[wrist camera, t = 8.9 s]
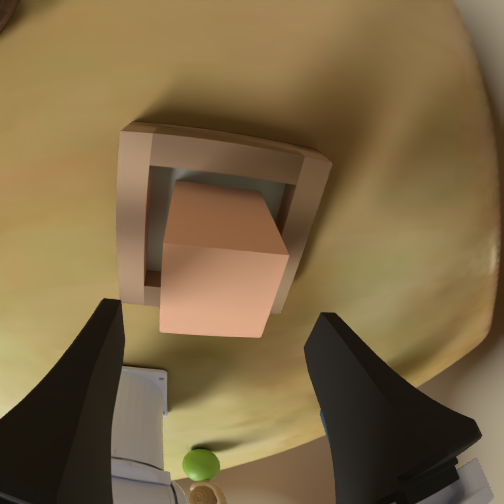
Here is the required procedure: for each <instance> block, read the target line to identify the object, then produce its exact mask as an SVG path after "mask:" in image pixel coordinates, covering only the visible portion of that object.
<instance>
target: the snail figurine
mask: <svg viewBox="0 0 504 504" xmlns="http://www.w3.org/2000/svg"><path fill="white" fill-rule="evenodd" d="M182 466H183V470H184V472H185V474H186V475H187V476H188V477H189V478H190V479H192V480H194V481H197V482H195V483H193V484H192V485H191V487H190V490H192V492H191V493H190V497H189V500H190V504H217V501H218V503H219V504H227V502H226V498H225V496H224V493H223V491H222V489H221V488H220V486H219V485H218V484H216V483H215V482H212V481H210V480H212V479H214V478H215V477H216V476H217V474H218V473H219V470H220V462H219V460H218V458H217V457H216V455H215V454H213V453H212V452H210V451H208V450H205V449H195V450H192V451H190V452H189V453H187V454H186V456H185V457H184V459H183V463H182Z"/></svg>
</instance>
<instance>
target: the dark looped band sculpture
mask: <svg viewBox="0 0 504 504" xmlns="http://www.w3.org/2000/svg"><path fill="white" fill-rule="evenodd" d="M18 2H19V0H0V32H1V30H2V28H3V27H4V26H5V24H6V22H7V21H8V20H9V18H10V16H11V15H12V13H13V11H14V10H15V8H16V5H17V4H18Z"/></svg>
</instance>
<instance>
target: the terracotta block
mask: <svg viewBox="0 0 504 504" xmlns="http://www.w3.org/2000/svg"><path fill="white" fill-rule="evenodd" d="M288 258H289V253H288V251H287V249H286V247H285V244H284V242H283V240H282V238H281V235H280V233H279V231H278V229H277V227H276V224H275V222H274V220H273V218H272V216H271V213H270V211H269V209H268V207H267V205H266V203H265V200H264V198H263V196H262V194H261V192H260V191H253V190H246V189H239V188H232V187H225V186H217V185H209V184H201V183H193V182H184V181H175V184H174V188H173V193H172V198H171V203H170V208H169V214H168V219H167V225H166V230H165V236H164V242H163V255H162V272H161V294H160V332H164V333H177V334H191V335H207V336H228V337H260V338H261V336H262V333H263V330H264V327H265V325H266V322H267V319H268V316H269V313H270V311H271V308H272V305H273V302H274V299H275V296H276V293H277V291H278V288H279V285H280V282H281V279H282V276H283V273H284V270H285V267H286V264H287V261H288Z"/></svg>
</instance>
